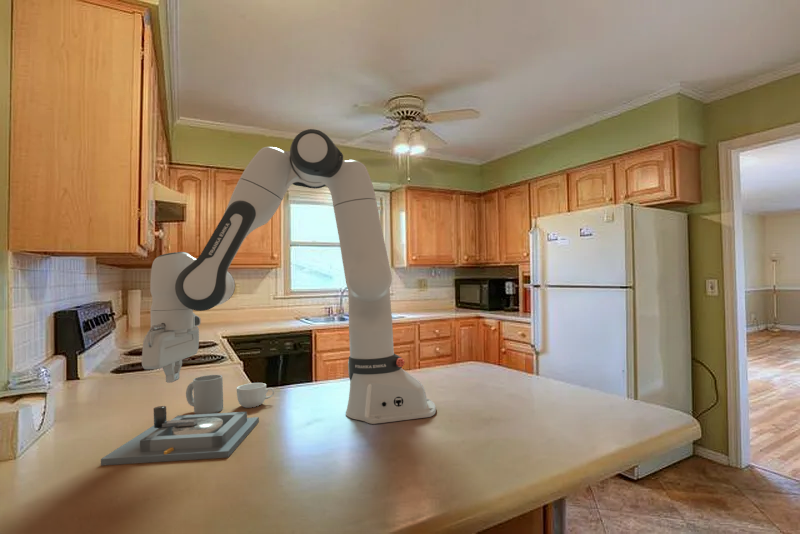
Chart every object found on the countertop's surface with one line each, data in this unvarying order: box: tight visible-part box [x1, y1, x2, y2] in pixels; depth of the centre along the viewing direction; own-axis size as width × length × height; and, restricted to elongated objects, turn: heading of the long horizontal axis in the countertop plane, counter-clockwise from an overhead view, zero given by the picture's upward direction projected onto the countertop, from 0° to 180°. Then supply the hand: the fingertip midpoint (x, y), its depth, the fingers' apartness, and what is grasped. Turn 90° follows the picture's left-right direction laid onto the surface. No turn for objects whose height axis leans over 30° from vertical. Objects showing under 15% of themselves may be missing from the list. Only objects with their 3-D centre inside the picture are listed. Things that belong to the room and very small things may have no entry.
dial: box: [153, 405, 223, 435], centre depth 94 cm, size 14×10×6 cm
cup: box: [185, 374, 224, 415], centre depth 117 cm, size 7×10×9 cm
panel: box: [100, 411, 260, 466], centre depth 94 cm, size 24×21×3 cm
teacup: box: [236, 382, 275, 409], centre depth 120 cm, size 10×8×5 cm
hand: (172, 381), depth 101 cm, fingers closed
